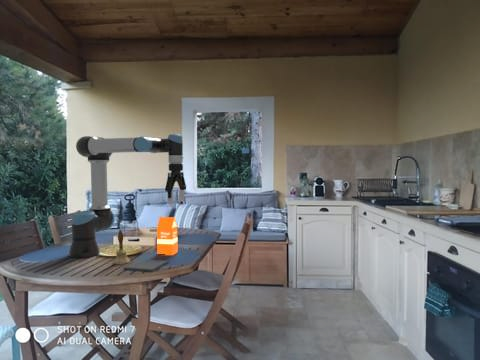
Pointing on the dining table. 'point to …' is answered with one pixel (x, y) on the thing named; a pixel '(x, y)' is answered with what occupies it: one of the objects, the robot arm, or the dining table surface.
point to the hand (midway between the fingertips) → (176, 202)
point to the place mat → (146, 265)
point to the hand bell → (121, 252)
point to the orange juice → (167, 236)
